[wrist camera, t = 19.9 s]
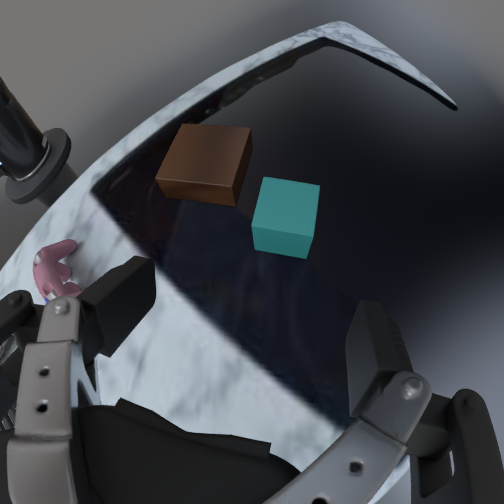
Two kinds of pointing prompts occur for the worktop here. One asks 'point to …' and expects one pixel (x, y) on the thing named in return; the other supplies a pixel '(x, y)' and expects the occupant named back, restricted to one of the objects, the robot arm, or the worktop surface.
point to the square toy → (285, 217)
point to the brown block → (206, 164)
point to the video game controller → (54, 271)
